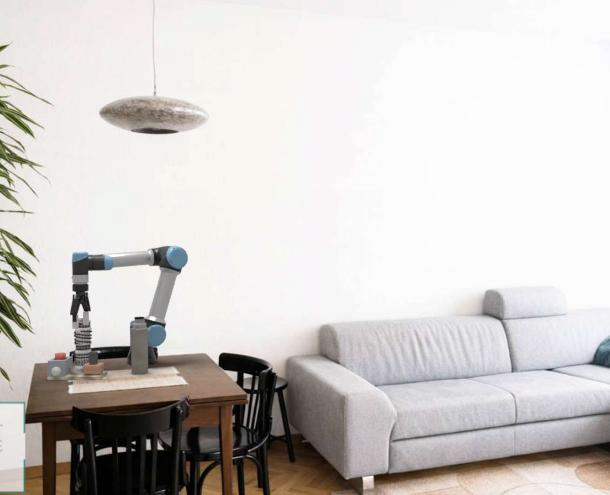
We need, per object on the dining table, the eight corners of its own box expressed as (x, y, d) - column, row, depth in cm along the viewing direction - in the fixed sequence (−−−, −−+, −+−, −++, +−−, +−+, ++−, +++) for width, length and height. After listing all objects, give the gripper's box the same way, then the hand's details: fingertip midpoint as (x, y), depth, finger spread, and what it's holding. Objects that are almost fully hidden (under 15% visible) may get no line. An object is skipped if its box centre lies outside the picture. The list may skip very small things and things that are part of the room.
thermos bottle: (137, 370, 328) (137, 315, 328) (151, 371, 326) (150, 316, 325) (128, 374, 321) (127, 317, 320) (142, 375, 318) (141, 318, 318)
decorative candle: (95, 364, 345) (95, 317, 345) (87, 368, 336) (87, 319, 335) (78, 364, 346) (78, 317, 346) (70, 367, 337) (70, 319, 336)
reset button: (67, 359, 316) (67, 352, 316) (63, 361, 311) (63, 354, 311) (57, 359, 316) (57, 352, 316) (53, 361, 311) (53, 354, 311)
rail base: (107, 374, 320) (107, 365, 320) (100, 379, 308) (100, 370, 308) (56, 374, 320) (56, 365, 320) (47, 380, 308) (47, 370, 308)
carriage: (104, 371, 318) (104, 350, 317) (99, 374, 311) (99, 353, 310) (87, 371, 318) (87, 350, 317) (83, 374, 310) (82, 353, 310)
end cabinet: (72, 374, 319) (72, 356, 319) (64, 379, 308) (64, 361, 308) (56, 374, 319) (56, 356, 319) (47, 380, 308) (47, 361, 308)
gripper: (82, 281, 331) (82, 323, 331) (62, 285, 306) (62, 330, 306) (97, 281, 331) (97, 323, 331) (78, 285, 306) (78, 330, 306)
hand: (80, 326), depth 319 cm, fingers open, 13 cm apart
